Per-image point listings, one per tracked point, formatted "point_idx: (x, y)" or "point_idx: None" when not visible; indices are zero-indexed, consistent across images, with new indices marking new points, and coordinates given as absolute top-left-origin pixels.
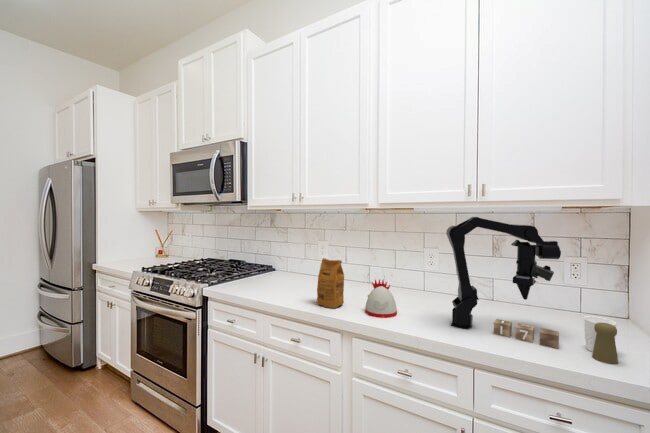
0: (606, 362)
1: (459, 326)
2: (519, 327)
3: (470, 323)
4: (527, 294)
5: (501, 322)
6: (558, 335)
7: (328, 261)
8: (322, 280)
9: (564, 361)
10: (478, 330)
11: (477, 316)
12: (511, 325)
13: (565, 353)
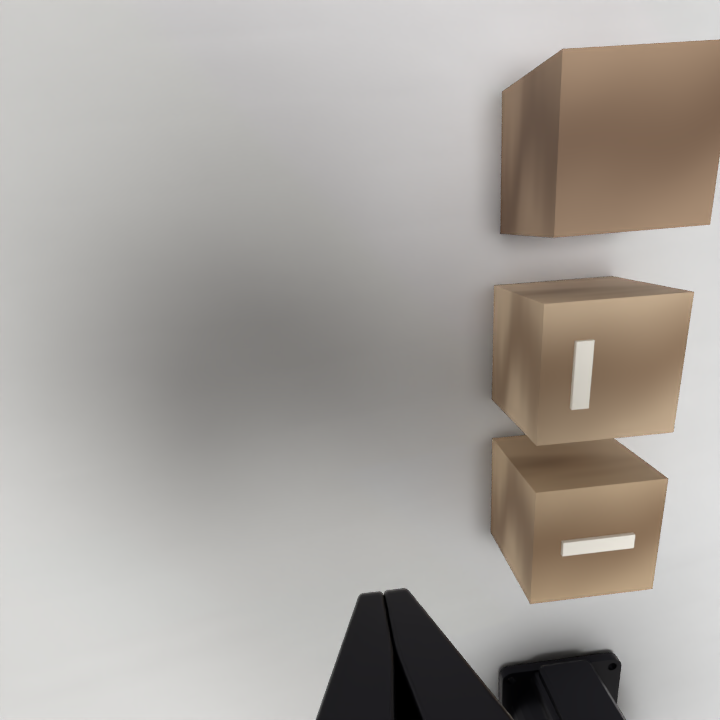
0: None
1: (616, 700)
2: (673, 402)
3: (603, 683)
4: (481, 691)
5: (629, 547)
6: (685, 44)
7: None
8: None
9: None
10: (581, 605)
11: (263, 709)
12: (540, 473)
13: (700, 17)
